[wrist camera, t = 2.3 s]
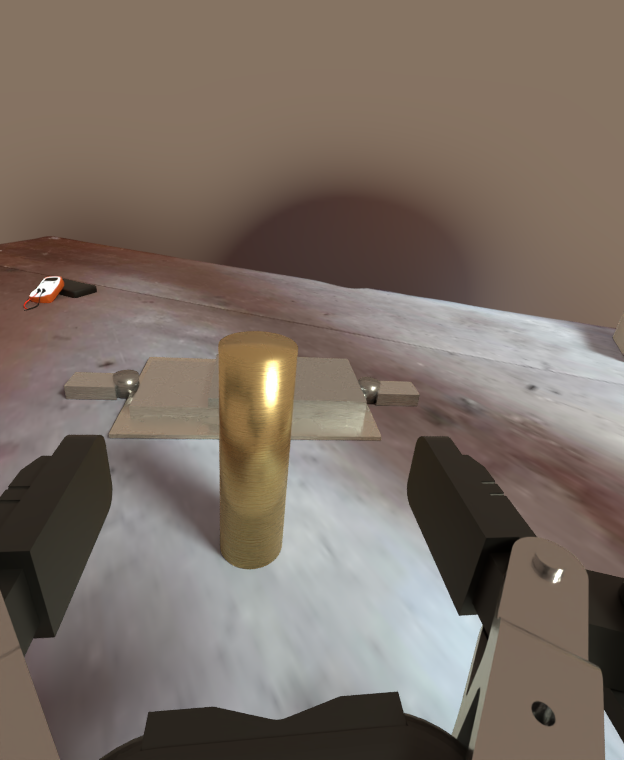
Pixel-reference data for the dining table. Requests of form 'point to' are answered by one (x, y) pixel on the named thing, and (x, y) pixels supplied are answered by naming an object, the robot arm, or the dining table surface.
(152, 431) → the peg-in-hole plate
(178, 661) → the dining table surface
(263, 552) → the pin
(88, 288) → the multimeter
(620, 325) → the parts tray
